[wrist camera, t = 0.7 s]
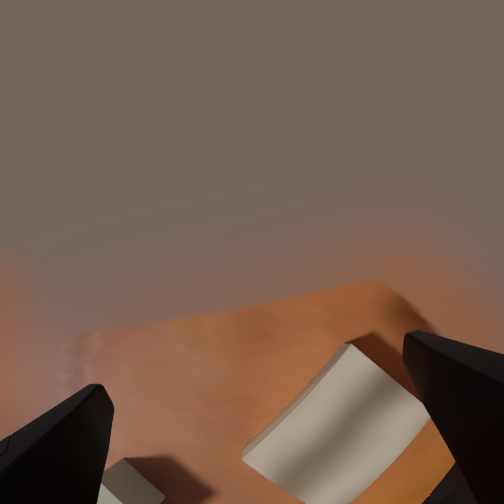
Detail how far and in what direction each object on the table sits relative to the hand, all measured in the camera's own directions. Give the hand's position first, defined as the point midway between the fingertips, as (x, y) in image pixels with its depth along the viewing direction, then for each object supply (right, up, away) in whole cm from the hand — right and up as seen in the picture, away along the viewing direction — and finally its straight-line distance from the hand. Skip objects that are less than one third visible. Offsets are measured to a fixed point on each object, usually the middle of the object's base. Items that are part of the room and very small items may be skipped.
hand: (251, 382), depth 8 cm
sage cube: (-11, -18, +11) cm, 23 cm away
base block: (+6, -10, +11) cm, 17 cm away
